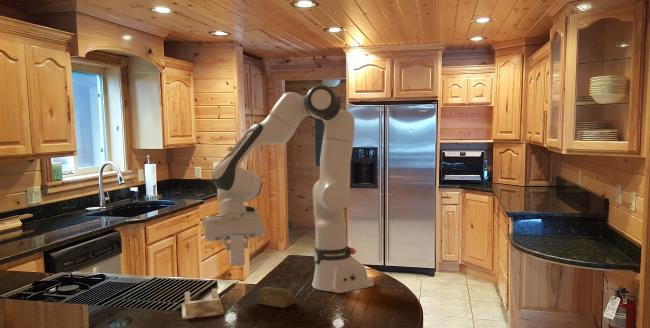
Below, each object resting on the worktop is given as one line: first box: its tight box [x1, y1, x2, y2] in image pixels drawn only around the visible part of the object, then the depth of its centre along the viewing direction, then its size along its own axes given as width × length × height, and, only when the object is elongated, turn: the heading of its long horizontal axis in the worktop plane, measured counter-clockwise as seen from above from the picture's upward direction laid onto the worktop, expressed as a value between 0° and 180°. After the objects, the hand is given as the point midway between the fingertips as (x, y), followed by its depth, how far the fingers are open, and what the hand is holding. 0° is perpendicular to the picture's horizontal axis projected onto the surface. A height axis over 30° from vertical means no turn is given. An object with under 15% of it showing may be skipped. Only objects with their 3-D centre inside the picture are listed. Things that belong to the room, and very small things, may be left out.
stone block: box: [256, 286, 295, 309], centre depth 146 cm, size 6×12×5 cm, turn 67°
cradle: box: [181, 288, 224, 320], centre depth 141 cm, size 12×12×4 cm
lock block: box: [228, 233, 246, 267], centre depth 151 cm, size 4×5×10 cm
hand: (236, 248), depth 150 cm, fingers closed on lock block, 4 cm apart
